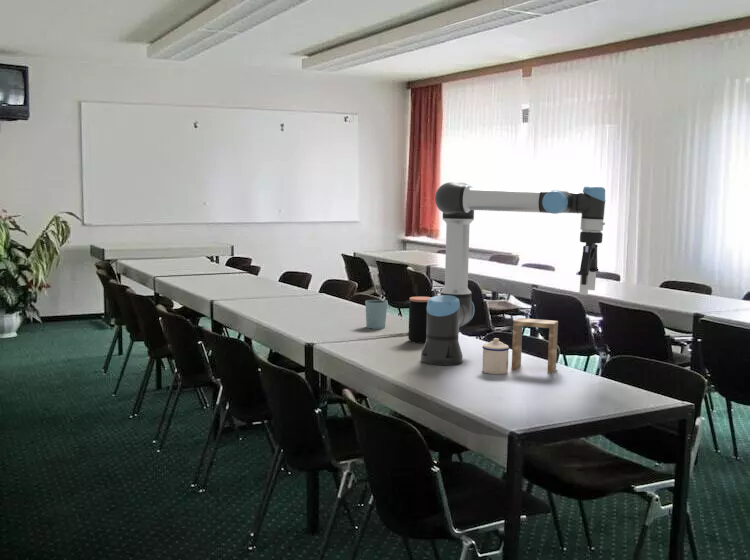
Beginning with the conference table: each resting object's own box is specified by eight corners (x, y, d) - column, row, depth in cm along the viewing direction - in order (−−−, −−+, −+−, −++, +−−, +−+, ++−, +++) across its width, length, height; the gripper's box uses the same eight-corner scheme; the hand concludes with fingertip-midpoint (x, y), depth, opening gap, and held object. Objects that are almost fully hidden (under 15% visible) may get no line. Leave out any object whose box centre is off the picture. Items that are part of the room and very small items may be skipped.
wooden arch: (511, 369, 278) (513, 320, 276) (516, 364, 285) (518, 317, 284) (551, 373, 273) (553, 324, 271) (556, 368, 280) (558, 320, 278)
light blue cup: (362, 328, 356) (363, 302, 355) (366, 325, 366) (367, 299, 365) (385, 329, 355) (385, 303, 353) (388, 326, 365) (389, 300, 363)
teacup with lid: (512, 374, 270) (514, 340, 269) (488, 375, 267) (489, 341, 266) (497, 366, 281) (499, 334, 280) (474, 367, 279) (475, 335, 278)
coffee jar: (438, 340, 329) (439, 297, 328) (426, 344, 320) (427, 300, 319) (416, 338, 335) (417, 295, 333) (403, 341, 326) (404, 298, 324)
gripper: (596, 233, 263) (591, 296, 265) (608, 230, 285) (604, 289, 288) (573, 232, 266) (569, 294, 268) (587, 229, 288) (583, 287, 291)
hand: (587, 292), depth 278 cm, fingers open, 13 cm apart
